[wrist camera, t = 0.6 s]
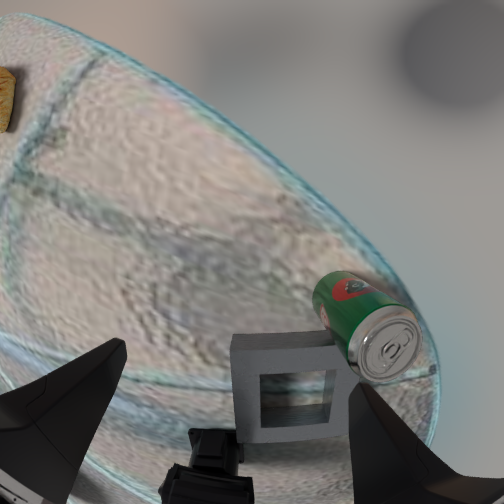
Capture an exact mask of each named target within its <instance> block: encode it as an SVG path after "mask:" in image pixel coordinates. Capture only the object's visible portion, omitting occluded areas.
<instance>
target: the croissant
mask: <svg viewBox="0 0 504 504" xmlns="http://www.w3.org/2000/svg"><path fill="white" fill-rule="evenodd" d="M15 84H16V79H15V77H14V76H13V75H12V74H11V73H10V72H9V71H8V70H7V69H6V68H4V67H0V133H3V132H5V131H6V129H7V127H8V124H9V121H10V115H11V112H12V107H13V98H14V89H15Z"/></svg>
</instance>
